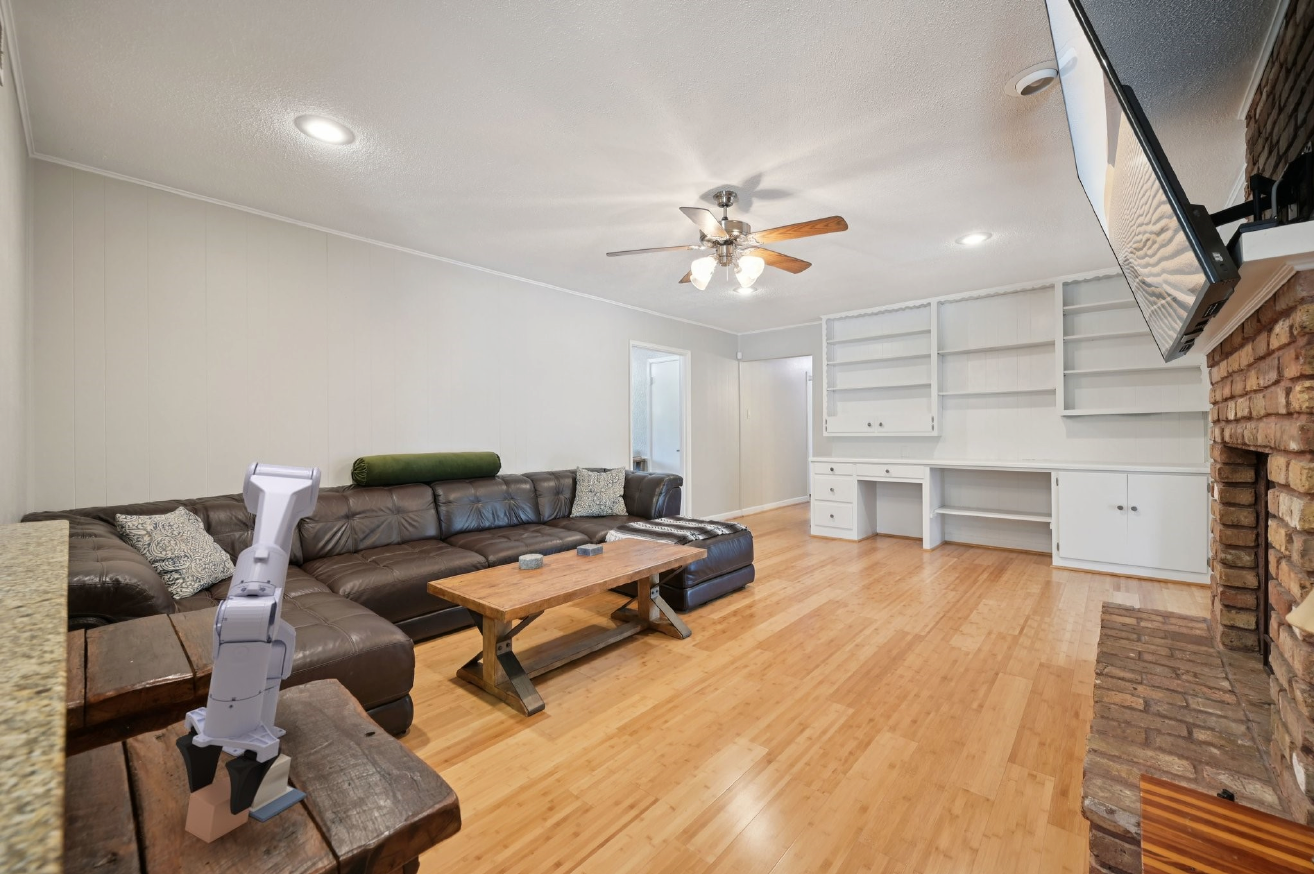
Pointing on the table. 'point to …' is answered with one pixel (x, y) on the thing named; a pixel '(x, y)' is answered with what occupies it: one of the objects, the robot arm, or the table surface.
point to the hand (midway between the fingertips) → (220, 799)
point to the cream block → (273, 781)
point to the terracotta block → (213, 811)
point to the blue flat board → (276, 804)
